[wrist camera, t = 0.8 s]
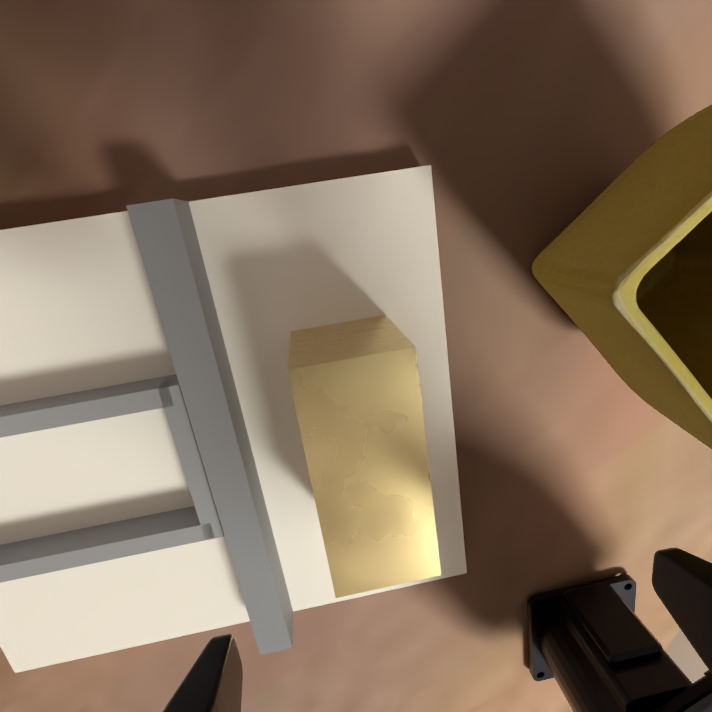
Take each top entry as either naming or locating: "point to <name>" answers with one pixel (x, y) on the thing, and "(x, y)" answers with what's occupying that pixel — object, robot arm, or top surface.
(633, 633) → the robot arm
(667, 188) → the flower pot
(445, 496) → the board
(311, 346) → the bar
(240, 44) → the top surface
